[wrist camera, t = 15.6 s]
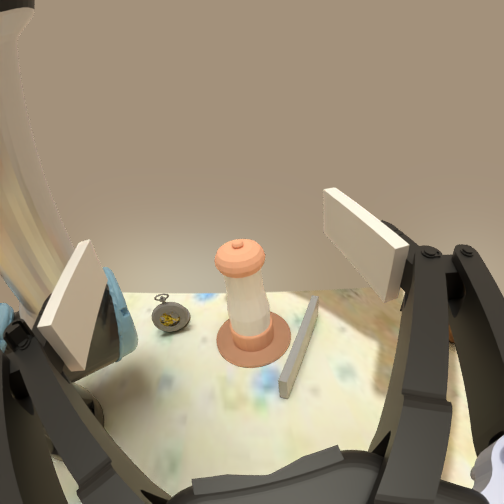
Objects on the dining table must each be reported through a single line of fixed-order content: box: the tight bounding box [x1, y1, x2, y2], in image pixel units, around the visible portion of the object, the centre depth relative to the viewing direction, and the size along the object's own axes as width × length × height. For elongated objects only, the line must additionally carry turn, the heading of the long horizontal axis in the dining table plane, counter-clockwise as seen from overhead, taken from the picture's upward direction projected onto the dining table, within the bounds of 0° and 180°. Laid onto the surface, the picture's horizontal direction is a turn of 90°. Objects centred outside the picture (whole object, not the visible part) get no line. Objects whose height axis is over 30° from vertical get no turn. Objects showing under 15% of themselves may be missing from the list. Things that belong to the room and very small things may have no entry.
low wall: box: [278, 295, 319, 399], centre depth 43 cm, size 1×18×5 cm, turn 157°
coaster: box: [217, 312, 291, 368], centre depth 49 cm, size 13×13×1 cm
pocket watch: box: [152, 294, 190, 332], centre depth 51 cm, size 8×8×10 cm
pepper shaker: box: [215, 239, 274, 352], centre depth 43 cm, size 7×7×19 cm
